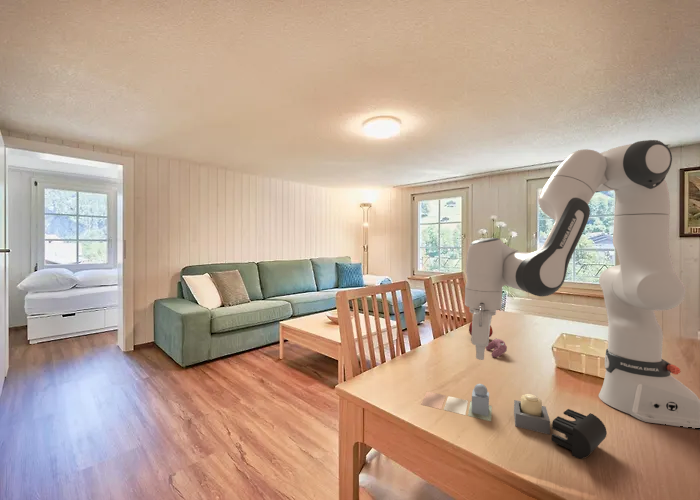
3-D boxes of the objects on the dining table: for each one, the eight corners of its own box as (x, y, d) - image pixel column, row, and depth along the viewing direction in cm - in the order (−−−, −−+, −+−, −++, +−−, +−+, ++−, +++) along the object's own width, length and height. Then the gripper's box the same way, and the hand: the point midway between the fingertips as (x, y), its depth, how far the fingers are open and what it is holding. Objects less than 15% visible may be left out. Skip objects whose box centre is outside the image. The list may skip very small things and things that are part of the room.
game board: (492, 406, 84) (492, 404, 84) (492, 426, 75) (492, 423, 75) (426, 391, 92) (426, 389, 92) (418, 408, 83) (418, 405, 83)
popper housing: (545, 421, 77) (545, 406, 77) (549, 437, 71) (550, 421, 71) (513, 414, 80) (514, 400, 80) (515, 428, 74) (515, 413, 74)
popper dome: (540, 412, 76) (540, 394, 76) (542, 422, 73) (543, 403, 72) (520, 408, 78) (520, 390, 78) (521, 417, 74) (521, 398, 74)
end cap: (589, 468, 61) (590, 435, 61) (550, 448, 67) (551, 418, 67) (606, 449, 67) (607, 419, 67) (568, 432, 73) (569, 404, 73)
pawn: (488, 408, 81) (489, 382, 81) (488, 416, 78) (488, 389, 78) (472, 405, 83) (473, 379, 83) (471, 412, 80) (472, 385, 79)
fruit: (486, 335, 147) (486, 315, 147) (497, 342, 138) (497, 320, 137) (464, 335, 147) (465, 315, 146) (474, 342, 137) (474, 320, 137)
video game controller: (502, 362, 119) (511, 347, 118) (491, 356, 119) (500, 341, 119) (494, 353, 129) (502, 338, 128) (484, 347, 129) (492, 333, 129)
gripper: (496, 309, 69) (493, 369, 69) (496, 295, 87) (494, 343, 88) (466, 306, 72) (464, 364, 72) (472, 293, 90) (471, 339, 90)
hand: (481, 352), depth 80 cm, fingers open, 8 cm apart
